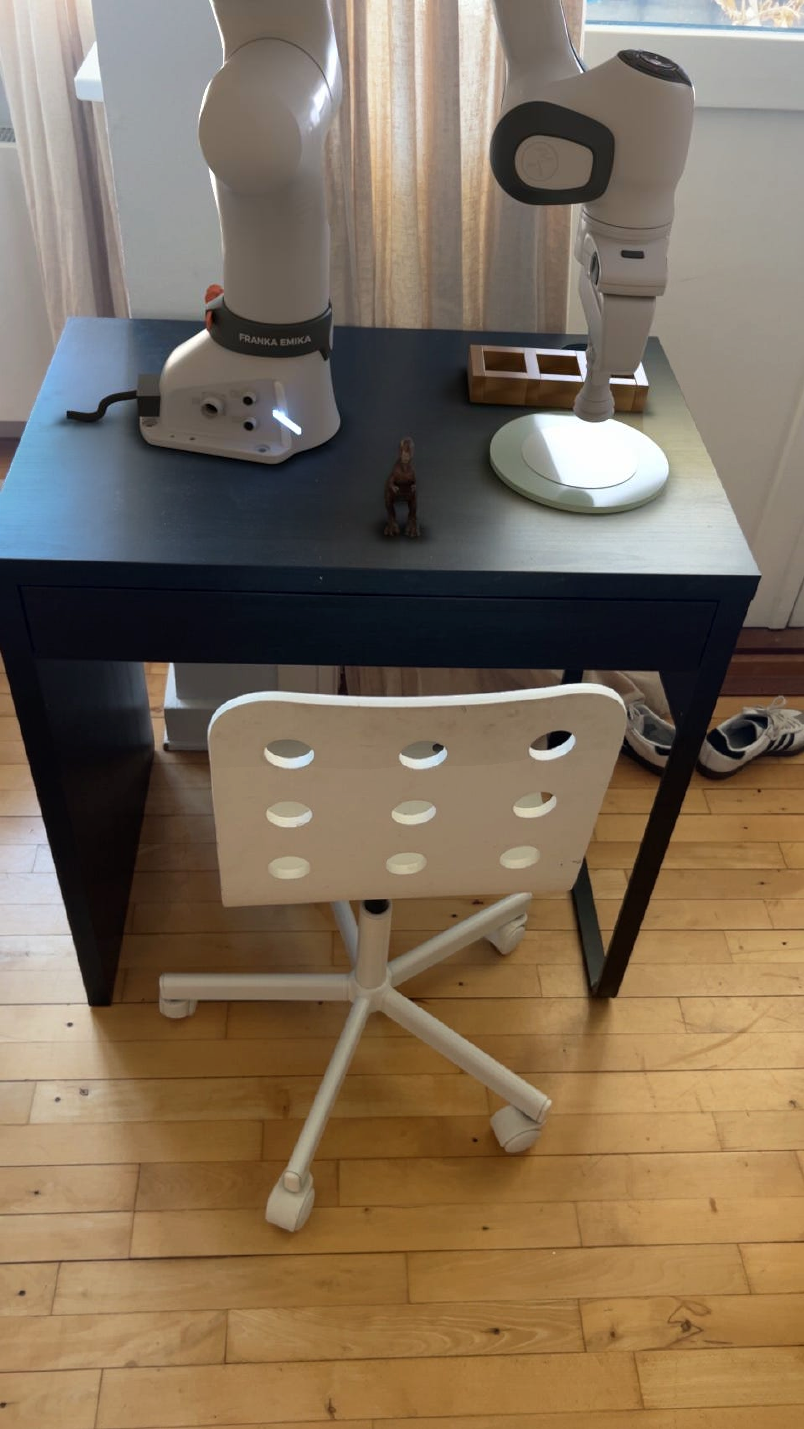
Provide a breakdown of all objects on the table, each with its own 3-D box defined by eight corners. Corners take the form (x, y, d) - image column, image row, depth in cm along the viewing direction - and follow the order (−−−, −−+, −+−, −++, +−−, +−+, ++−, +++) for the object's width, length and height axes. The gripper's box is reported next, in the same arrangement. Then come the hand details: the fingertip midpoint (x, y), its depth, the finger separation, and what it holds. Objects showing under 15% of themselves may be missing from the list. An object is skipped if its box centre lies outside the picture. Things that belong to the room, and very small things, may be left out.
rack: (470, 402, 139) (473, 375, 137) (467, 370, 145) (470, 344, 142) (643, 412, 140) (649, 386, 138) (633, 380, 146) (639, 354, 143)
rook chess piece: (565, 416, 125) (572, 347, 120) (584, 399, 128) (592, 330, 122) (602, 428, 123) (611, 358, 118) (620, 411, 126) (630, 341, 121)
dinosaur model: (393, 445, 108) (390, 377, 119) (380, 553, 115) (378, 479, 127) (436, 449, 108) (428, 380, 119) (420, 556, 116) (415, 482, 127)
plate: (494, 511, 122) (496, 500, 121) (484, 415, 137) (485, 405, 136) (681, 521, 123) (684, 511, 122) (651, 425, 138) (653, 415, 137)
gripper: (577, 200, 120) (557, 327, 130) (602, 283, 105) (577, 420, 115) (637, 204, 120) (612, 330, 130) (671, 287, 106) (640, 423, 115)
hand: (596, 373), depth 122 cm, fingers closed on rook chess piece, 3 cm apart
